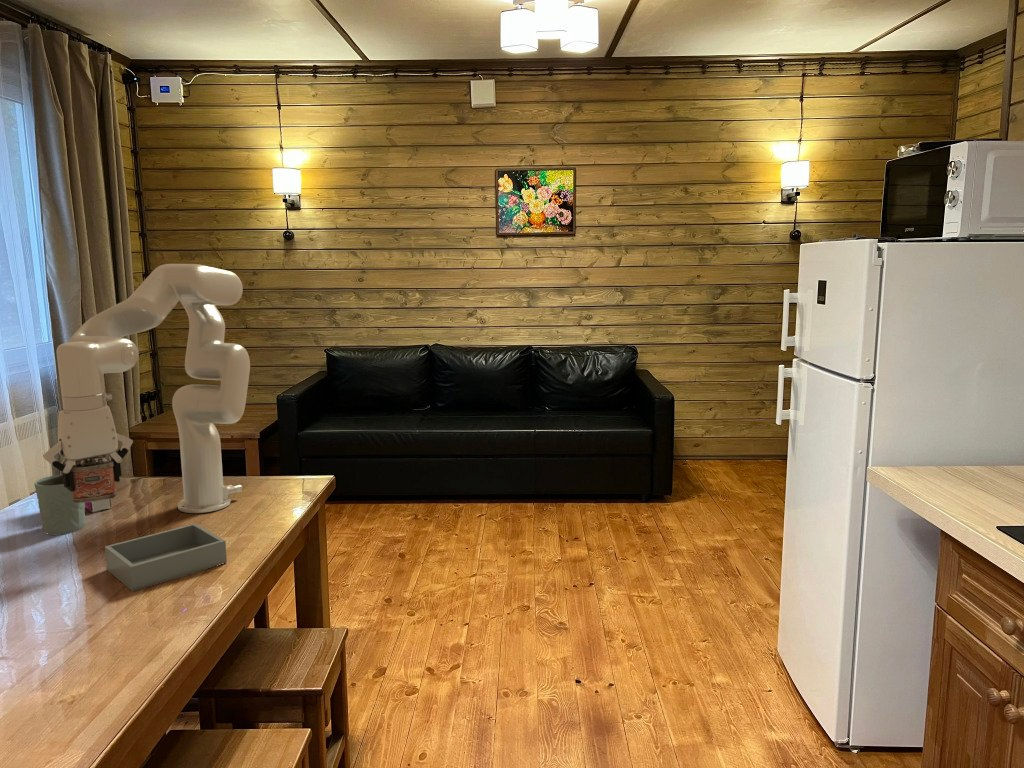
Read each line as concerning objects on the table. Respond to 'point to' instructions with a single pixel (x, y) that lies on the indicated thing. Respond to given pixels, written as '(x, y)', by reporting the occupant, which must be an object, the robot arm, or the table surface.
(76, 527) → the green plant pot
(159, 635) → the table surface
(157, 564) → the bin
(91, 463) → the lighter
